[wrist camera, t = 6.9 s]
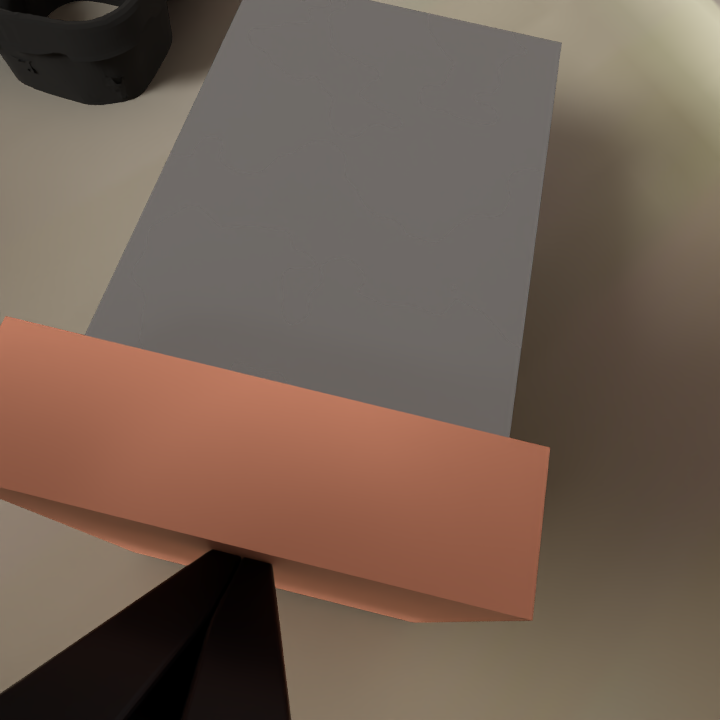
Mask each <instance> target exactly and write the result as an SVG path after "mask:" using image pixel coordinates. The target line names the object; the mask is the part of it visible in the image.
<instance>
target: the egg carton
mask: <svg viewBox="0 0 720 720" xmlns="http://www.w3.org/2000/svg"><path fill="white" fill-rule="evenodd" d="M75 1H94V2H100V3H106V4H111V5H115V6H119V7H118V8H117V9H116V10H114V11H112V12H110V13H108V14H106V15H104V16H103V17H99V18H96V19H93V20H89V21H63V20H56V19H50V18H48V15H49V14H50V13H51V12H53V11H54V10H55V9H57V8H58V7H60V6H62V5H64V4H67V3H70V2H75ZM171 43H172V31H171V26H170V21H169V15H168V8H167V0H0V54H1V55H2V57H3V58H4V60H5V61H6V63H7V64H8V65H9V67H10V68H11V70H12V71H13V73H14V74H15V76H16V77H17V78H18V79H19V80H20V81H21V82H22V83H24V84H25V85H28V86H30V87H33V88H34V89H37V90H40V91H43V92H46V93H49V94H52V95H55V96H59V97H62V98H66V99H69V100H73V101H76V102H80V103H83V104H88V105H104V104H112V103H118V102H124V101H128V100H131V99H134V98H136V97H138V96H140V95H141V94H142V93H143V92H144V91H145V89H146V88H147V87H148V85H149V84H150V82H151V81H152V79H153V78H154V76H155V74H156V73H157V71H158V69H159V68H160V66H161V64H162V62H163V60H164V58H165V57H166V55H167V53H168V50H169V48H170V46H171Z"/></svg>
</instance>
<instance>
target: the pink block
mask: <svg viewBox="0 0 720 720" xmlns="http://www.w3.org/2000/svg"><path fill="white" fill-rule="evenodd" d="M549 454H550V447H546V446H541V445H537V444H533V443H529V442H525V441H521V440H517V439H512V438H508V437H504V436H500V435H496V434H492V433H488V432H483V431H479V430H475V429H471V428H467V427H463V426H459V425H454V424H450V423H446V422H442V421H438V420H434V419H430V418H425V417H421V416H417V415H413V414H409V413H405V412H401V411H396V410H392V409H388V408H384V407H380V406H376V405H372V404H367V403H363V402H359V401H355V400H351V399H347V398H343V397H338V396H334V395H330V394H326V393H322V392H318V391H314V390H309V389H305V388H301V387H297V386H293V385H289V384H285V383H280V382H276V381H272V380H268V379H264V378H260V377H256V376H251V375H247V374H243V373H239V372H235V371H231V370H227V369H222V368H218V367H214V366H210V365H206V364H202V363H198V362H193V361H189V360H185V359H181V358H177V357H173V356H169V355H164V354H160V353H156V352H152V351H148V350H144V349H140V348H135V347H131V346H127V345H123V344H119V343H115V342H110V341H106V340H102V339H98V338H94V337H90V336H86V335H81V334H77V333H73V332H69V331H65V330H61V329H57V328H52V327H48V326H44V325H40V324H36V323H32V322H28V321H23V320H19V319H15V318H11V317H7V316H6V317H5V318H4V320H3V322H2V324H1V326H0V499H2V500H5V501H7V502H10V503H12V504H15V505H17V506H20V507H22V508H25V509H27V510H30V511H32V512H35V513H37V514H40V515H42V516H45V517H47V518H50V519H52V520H55V521H57V522H60V523H62V524H65V525H67V526H70V527H72V528H75V529H77V530H80V531H82V532H85V533H87V534H90V535H93V536H95V537H98V538H100V539H103V540H105V541H108V542H110V543H113V544H115V545H118V546H120V547H123V548H125V549H128V550H130V551H133V552H136V553H140V554H143V555H147V556H151V557H155V558H159V559H163V560H167V561H171V562H175V563H179V564H183V565H189V564H190V563H192V562H193V561H195V560H196V559H198V558H199V557H201V556H202V555H203V554H205V553H206V552H208V551H209V550H211V549H214V550H218V551H222V552H226V553H230V554H234V555H238V556H240V557H241V559H243V558H244V557H246V558H250V559H254V560H258V561H262V562H266V563H270V564H272V566H273V573H274V581H275V588H279V589H283V590H287V591H290V592H294V593H298V594H302V595H306V596H310V597H314V598H318V599H322V600H326V601H330V602H334V603H338V604H342V605H346V606H350V607H354V608H358V609H362V610H366V611H370V612H374V613H378V614H382V615H386V616H390V617H394V618H398V619H402V620H406V621H410V622H471V621H531V620H533V610H534V601H535V591H536V581H537V571H538V561H539V552H540V542H541V532H542V522H543V513H544V503H545V493H546V483H547V473H548V464H549Z"/></svg>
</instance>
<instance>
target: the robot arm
mask: <svg viewBox="0 0 720 720" xmlns="http://www.w3.org/2000/svg"><path fill="white" fill-rule="evenodd" d="M0 720H291V714H290V706H289V697H288V689H287V681H286V672H285V664H284V656H283V647H282V639H281V631H280V622H279V614H278V606H277V598H276V589H275V581H274V573H273V566H272V564H270V563H266V562H262V561H258V560H254V559H250V558H246V557H244V558H243V559H241V557H240V556H238V555H234V554H230V553H226V552H222V551H218V550H214V549H211V550H209V551H208V552H206V553H205V554H203V555H202V556H201V557H199V558H198V559H196V560H195V561H193V562H192V563H190V564H189V565H187V566H186V567H184V568H183V569H182V570H180V571H179V572H177V573H176V574H174V575H173V576H171V577H170V578H168V579H167V580H165V581H164V582H163V583H161V584H160V585H158V586H157V587H155V588H154V589H152V590H151V591H149V592H148V593H146V594H145V595H144V596H142V597H141V598H139V599H138V600H136V601H135V602H133V603H132V604H130V605H129V606H127V607H126V608H125V609H123V610H122V611H120V612H119V613H117V614H116V615H114V616H113V617H111V618H110V619H108V620H107V621H105V622H104V623H103V624H101V625H100V626H98V627H97V628H95V629H94V630H92V631H91V632H89V633H88V634H86V635H85V636H84V637H82V638H81V639H79V640H78V641H76V642H75V643H73V644H72V645H70V646H69V647H67V648H66V649H65V650H63V651H62V652H60V653H59V654H57V655H56V656H54V657H53V658H51V659H50V660H48V661H47V662H46V663H44V664H43V665H41V666H40V667H38V668H37V669H35V670H34V671H32V672H31V673H29V674H28V675H27V676H25V677H24V678H22V679H21V680H19V681H18V682H16V683H15V684H13V685H12V686H10V687H9V688H8V689H6V690H5V691H3V692H2V693H0Z"/></svg>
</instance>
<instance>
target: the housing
mask: <svg viewBox="0 0 720 720" xmlns="http://www.w3.org/2000/svg"><path fill="white" fill-rule="evenodd" d="M560 51H561V43H560V42H556V41H551V40H547V39H542V38H538V37H533V36H529V35H524V34H520V33H515V32H511V31H506V30H502V29H497V28H493V27H488V26H483V25H479V24H474V23H470V22H465V21H461V20H456V19H452V18H447V17H443V16H438V15H434V14H429V13H425V12H420V11H416V10H411V9H407V8H402V7H398V6H393V5H389V4H384V3H380V2H375V1H370V0H242V2H241V4H240V6H239V8H238V10H237V13H236V15H235V17H234V19H233V21H232V23H231V25H230V27H229V30H228V32H227V34H226V36H225V38H224V40H223V42H222V44H221V47H220V49H219V51H218V53H217V55H216V57H215V59H214V61H213V64H212V66H211V68H210V70H209V72H208V74H207V76H206V78H205V81H204V83H203V85H202V87H201V89H200V91H199V93H198V95H197V98H196V100H195V102H194V104H193V106H192V108H191V110H190V112H189V115H188V117H187V119H186V121H185V123H184V125H183V127H182V129H181V132H180V134H179V136H178V138H177V140H176V142H175V144H174V146H173V149H172V151H171V153H170V155H169V157H168V159H167V161H166V163H165V166H164V168H163V170H162V172H161V174H160V176H159V178H158V180H157V183H156V185H155V187H154V189H153V191H152V193H151V195H150V197H149V200H148V202H147V204H146V206H145V208H144V210H143V212H142V214H141V217H140V219H139V221H138V223H137V225H136V227H135V229H134V231H133V234H132V236H131V238H130V240H129V242H128V244H127V246H126V248H125V251H124V253H123V255H122V257H121V259H120V261H119V263H118V265H117V268H116V270H115V272H114V274H113V276H112V278H111V280H110V283H109V285H108V287H107V289H106V291H105V293H104V295H103V297H102V300H101V302H100V304H99V306H98V308H97V310H96V312H95V314H94V317H93V319H92V321H91V323H90V325H89V327H88V329H87V331H86V334H85V335H86V336H90V337H94V338H98V339H102V340H106V341H110V342H115V343H119V344H123V345H127V346H131V347H135V348H140V349H144V350H148V351H152V352H156V353H160V354H164V355H169V356H173V357H177V358H181V359H185V360H189V361H193V362H198V363H202V364H206V365H210V366H214V367H218V368H222V369H227V370H231V371H235V372H239V373H243V374H247V375H251V376H256V377H260V378H264V379H268V380H272V381H276V382H280V383H285V384H289V385H293V386H297V387H301V388H305V389H309V390H314V391H318V392H322V393H326V394H330V395H334V396H338V397H343V398H347V399H351V400H355V401H359V402H363V403H367V404H372V405H376V406H380V407H384V408H388V409H392V410H396V411H401V412H405V413H409V414H413V415H417V416H421V417H425V418H430V419H434V420H438V421H442V422H446V423H450V424H454V425H459V426H463V427H467V428H471V429H475V430H479V431H483V432H488V433H492V434H496V435H500V436H504V437H508V438H510V430H511V422H512V415H513V407H514V400H515V392H516V384H517V377H518V369H519V362H520V354H521V347H522V339H523V331H524V324H525V316H526V309H527V301H528V293H529V286H530V278H531V271H532V263H533V256H534V248H535V240H536V233H537V225H538V218H539V210H540V203H541V195H542V187H543V180H544V172H545V165H546V157H547V149H548V142H549V134H550V127H551V119H552V112H553V104H554V96H555V89H556V81H557V74H558V66H559V59H560Z"/></svg>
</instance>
